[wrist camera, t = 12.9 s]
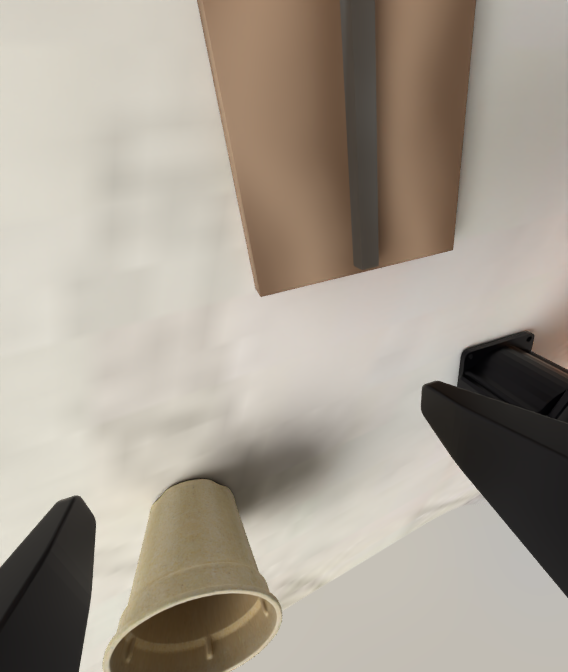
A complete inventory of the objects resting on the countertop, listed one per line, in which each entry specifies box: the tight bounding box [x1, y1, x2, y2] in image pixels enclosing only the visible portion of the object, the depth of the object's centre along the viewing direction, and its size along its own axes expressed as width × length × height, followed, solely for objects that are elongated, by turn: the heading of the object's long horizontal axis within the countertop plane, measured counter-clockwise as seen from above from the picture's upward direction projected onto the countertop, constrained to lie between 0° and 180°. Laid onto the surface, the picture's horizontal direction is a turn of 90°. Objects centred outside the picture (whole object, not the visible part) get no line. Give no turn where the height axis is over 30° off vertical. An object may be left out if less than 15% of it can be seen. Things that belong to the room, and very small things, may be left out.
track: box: [197, 0, 476, 297], centre depth 13 cm, size 12×22×6 cm, turn 9°
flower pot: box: [102, 479, 282, 672], centre depth 22 cm, size 9×9×9 cm
